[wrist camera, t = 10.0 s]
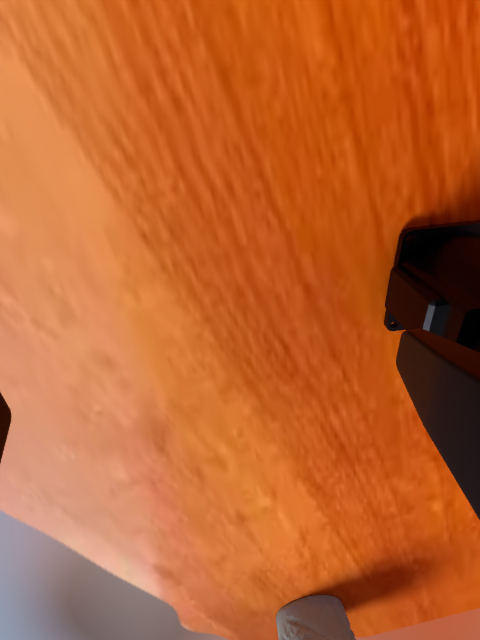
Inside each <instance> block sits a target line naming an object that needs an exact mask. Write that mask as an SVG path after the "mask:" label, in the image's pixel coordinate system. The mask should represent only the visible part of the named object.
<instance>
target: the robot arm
mask: <svg viewBox="0 0 480 640" xmlns="http://www.w3.org/2000/svg"><path fill="white" fill-rule="evenodd" d="M410 235H412V238H411V239H410V240H409V241H407V238H408V237H409V236H410ZM385 307H386V313H385V319H384V325H385V327H386V328H387V329H388V330H390V331H398V330H406V331H404V332H403V333H402V335H401V338H400V343H399V348H398V353H397V357H396V365H397V369H398V371H399V373H400V375H401V378H402V380H403V382H404V384H405V386H406V389H407V391H408V393H409V395H410V397H411V400H412V402H413V404H414V406H415V408H416V411H417V413H418V415H419V417H420V419H421V421H422V423H423V425H424V427H425V429H426V430H427V432H428V434H429V436H430V437H431V439H432V441H433V442H434V444H435V446H436V448H437V449H438V451H439V453H440V454H441V456H442V458H443V459H444V461H445V463H446V464H447V466H448V468H449V469H450V471H451V473H452V474H453V476H454V478H455V479H456V481H457V483H458V484H459V486H460V488H461V490H462V491H463V493H464V495H465V496H466V498H467V500H468V501H469V503H470V505H471V506H472V508H473V510H474V511H475V513H476V515H477V516H478V518H479V520H480V220H479V221H470V222H460V223H451V224H441V225H432V226H422V227H412V228H407V229H405V230H404V231H402V233H401V234H400V236H399V240H398V246H397V251H396V257H395V262H394V267H393V268H392V270H391V273H390V279H389V284H388V290H387V296H386V302H385ZM393 321H395V322H394V323H393V324H391V323H392V322H393ZM10 423H11V411H10V408H9V407H8V405H7V403H6V401H5V399H4V398H3V396H2V394H1V392H0V463H1V459H2V455H3V451H4V447H5V443H6V439H7V435H8V431H9V427H10Z"/></svg>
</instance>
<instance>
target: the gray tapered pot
mask: <svg viewBox="0 0 480 640" xmlns="http://www.w3.org/2000/svg"><path fill="white" fill-rule="evenodd" d="M276 622H277V630H278V637H279V640H356V639H355V636H354V633H353V632H352V630H351V629H350V623H349V620H348V617H347V615H346V612H345V610H344V607H343V604H342V603H341V601H340V600H339V599H338V598H336V597H334V596H329V595H315V596H308V597H305V598H301V599H298V600H295V601H293V602H291V603H289V604H287V605H285V606H284V607H282V608H281V609H280V610H279V611H278V613H277V616H276Z"/></svg>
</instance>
